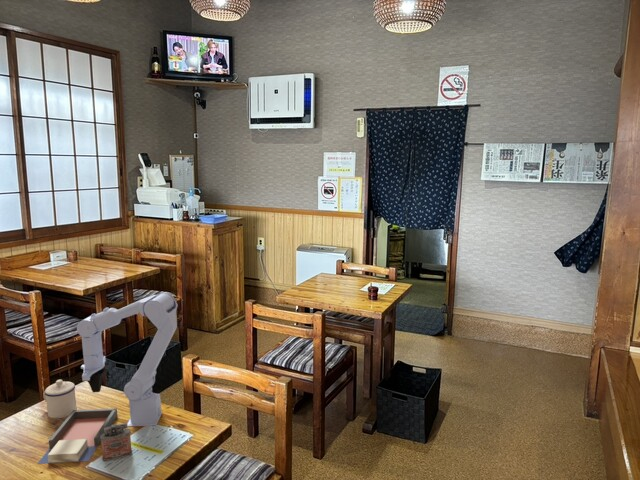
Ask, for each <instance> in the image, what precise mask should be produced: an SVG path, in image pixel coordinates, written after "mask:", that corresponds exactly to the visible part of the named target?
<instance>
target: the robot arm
mask: <svg viewBox="0 0 640 480" xmlns="http://www.w3.org/2000/svg"><path fill="white" fill-rule="evenodd" d="M178 307H179V306H178V303H177V301H176V299H175V297H174V295H172V294H171V293H170V292H166V291H165V292H161V293H160V294H154V295H150V296H147V297H144V298H141V299H139V300H137V301H134V302H132V303H130V304H128V305H126V306H124V307H121V308H119V309H117V308H115V307H110V308H109V307H105V308H104V309H103V308H102V311H101V312H99V313H92V314H91V315H89V316H88V317H86V318H84V319H81V321H79V322H78V323H77V325H76V330H77V331H76V332H77V333H78V335H79V336H80V337H81V343H82V344H81V347H82V355H83V364H82V365H81V366H80V369H81V370H83V373H82V375H81V378H82V379H81V380H82V382H88V384H89V387H90V390H91V392H92V393H100V391H101V389H102V383H103V379H104V378H103V377H104V375H105V372H106V370H107V368H106V367H105V363H106V362H107V361H106V360H107V358H106V356H105V355H104V351H103V350H104V349H103V339H102V333H103V331H105V330H108V329H110V328H113V327H116V326H117V325H119V324H121V322H122V320H123V319H125V318H128V317H132V316H134V315H137V314H140V315H141V316H142V317H147V319H148V320H149V321H150V322H151V323H152V324H153V325H154V327H156V328H157V331H156V333H155V334H154V337H153V339H152V341H151V343H150V345H149V346H148V349H147V351H146V354H145V355H144V357H143V359H142V361H141V364H140V365H139V368H138V369H137V371H136V372H135V373H134V375H133V376H132V378H131V379H130V381H129V382H127V383H126V384H125V385H124V387H123V393H124V396H125V398H127V399H128V404H129V406H128V407H129V416H130V418H129V420H128V422H127V426H128V427H148V426H151V427H153V426H157V425H158V423H159V421H160V419H161V416H162V414H163V411H162V401H161V400H162V399H161V398H162V397H161V394H160V393H155V392H153V386H154V384H155V383H156V375H157V368H158V366H159V365H160V362H161V360H162V358H163V356H164V354H165V352H166V350H167V348H168V346H169V344H170V342H171V340H172V338H173V336H174V334H175V332H176V330H177V329H178V320H177V319H178V316H177V311H178V310H177V309H178Z"/></svg>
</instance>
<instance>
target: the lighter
mask: <svg viewBox="0 0 640 480" xmlns="http://www.w3.org/2000/svg"><path fill="white" fill-rule="evenodd" d="M127 424H128V422H123V423H119V424H116V423H113V424H112V425H111V426H110V427H105V428H104V432H105V433H104V434H102V435H101V436H100V440H101V442H100V444H101V454H102V455H101V456H102V457H101V460H102V461H104V462H109V461H115V460H120V459H122V458H126V457H129V456H131V455H132V454H133V449H132V440H131V433H132V432H131V429H130V428H128V426H127Z"/></svg>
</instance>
